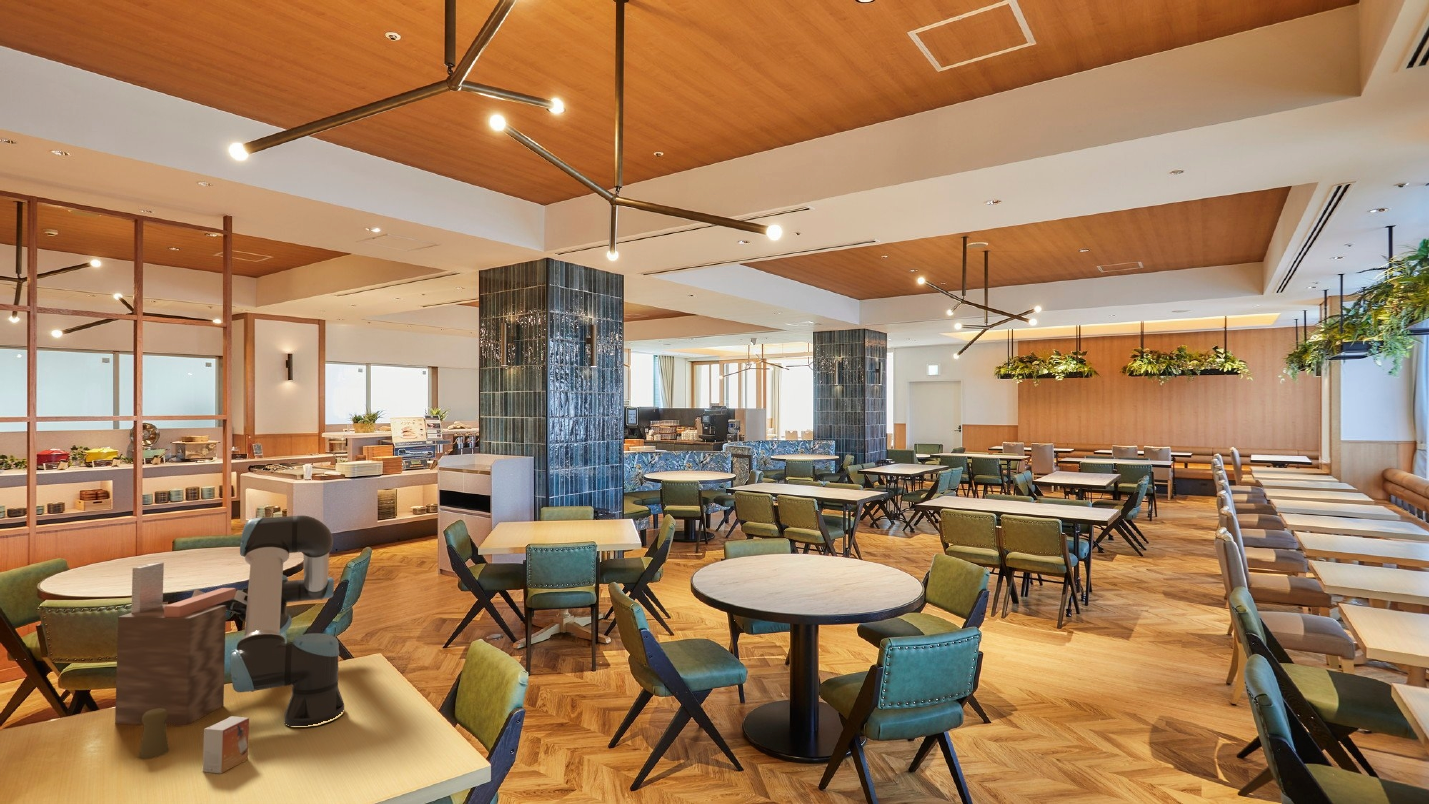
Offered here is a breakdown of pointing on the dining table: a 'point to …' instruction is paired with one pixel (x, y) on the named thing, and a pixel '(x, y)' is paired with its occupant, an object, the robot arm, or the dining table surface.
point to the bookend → (147, 587)
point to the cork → (154, 734)
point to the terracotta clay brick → (199, 602)
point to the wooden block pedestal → (170, 665)
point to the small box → (225, 744)
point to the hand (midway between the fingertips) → (215, 594)
